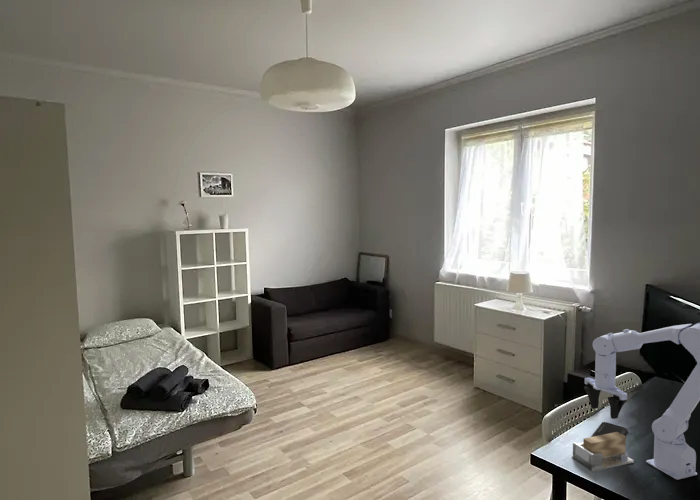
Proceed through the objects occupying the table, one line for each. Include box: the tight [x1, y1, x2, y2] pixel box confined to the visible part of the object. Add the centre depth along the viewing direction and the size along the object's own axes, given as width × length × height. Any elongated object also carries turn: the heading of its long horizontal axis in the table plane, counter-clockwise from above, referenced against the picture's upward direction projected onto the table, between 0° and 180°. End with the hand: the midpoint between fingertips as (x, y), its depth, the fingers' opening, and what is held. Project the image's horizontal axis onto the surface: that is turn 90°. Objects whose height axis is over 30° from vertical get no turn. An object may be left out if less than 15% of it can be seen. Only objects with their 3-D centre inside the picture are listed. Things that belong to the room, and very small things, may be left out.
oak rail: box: [582, 432, 627, 457], centre depth 131 cm, size 13×3×5 cm, turn 107°
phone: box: [591, 421, 628, 437], centre depth 147 cm, size 8×1×15 cm
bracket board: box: [571, 441, 634, 473], centre depth 131 cm, size 15×8×5 cm, turn 106°
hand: (604, 413), depth 141 cm, fingers open, 7 cm apart
